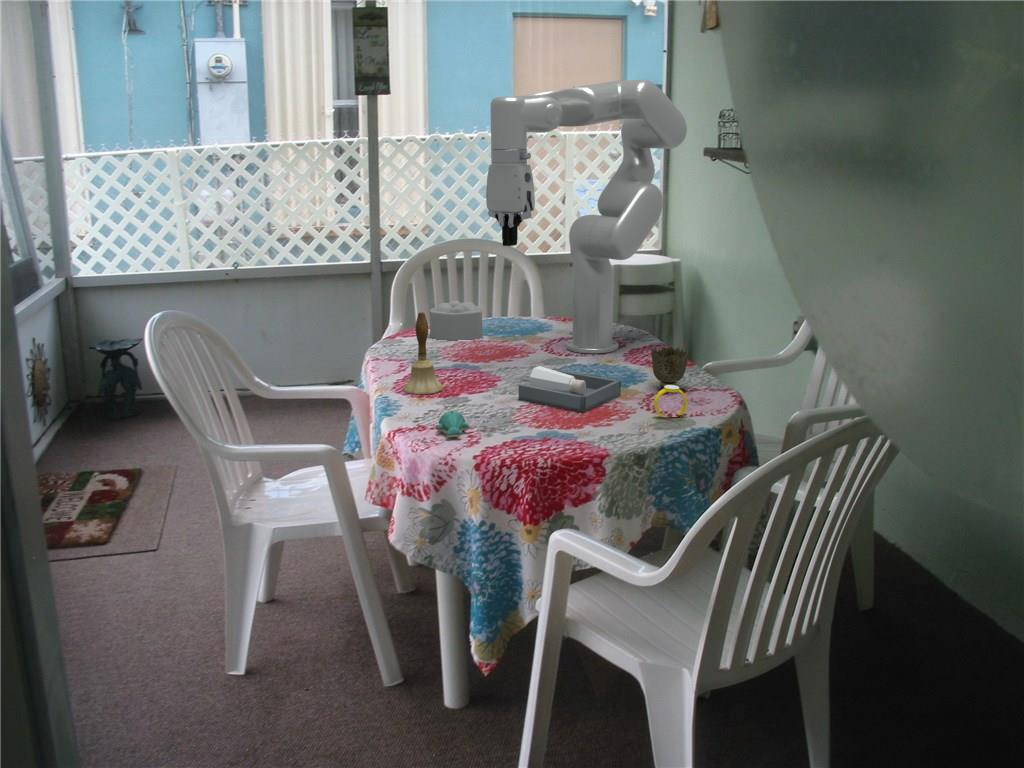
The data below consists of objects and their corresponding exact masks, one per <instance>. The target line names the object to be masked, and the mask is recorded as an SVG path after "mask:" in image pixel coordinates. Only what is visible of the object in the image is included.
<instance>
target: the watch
mask: <svg viewBox="0 0 1024 768" xmlns="http://www.w3.org/2000/svg"><path fill="white" fill-rule="evenodd" d="M667 392H668V393H679V394H681V396H682V397H683V398H682V399H683V405H682V407H681V410H679V411H678V412H677V413H676V414H678V415H682V416H683V415H684V413H685V412H686V410H687V408H688V398H687V396H686V394H685V393H684V392H683V391H682V390H681V389H680V386H678V385H677V386H675V385H666V386H664V389H662V388H661V390H660V391H658V392H657V394H656V395H655V397H654V401H653V407H654V409H655V412H656V413H657V415H658V416H659V417H661V418H662V417H663V415H664V414H662V413H661V412H660V410H659V407H658V405H659V400H660V399H661V397H662V395H664V394H665V393H667Z"/></svg>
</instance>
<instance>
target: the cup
mask: <svg viewBox="0 0 1024 768" xmlns="http://www.w3.org/2000/svg"><path fill="white" fill-rule="evenodd" d="M650 354H651V364H652V371H653V372H652V373H653V375H654V376H655V378H656V379H657V380H658V381H659V387H660V389H662V388H663V389H664V386H666V385H675V386H678V385H679V384H678V382H679V381H681V380H682V379H683V378H684V376H685V373H686V369H687V363H688V356H689V351H688V350H687V349H685V348H684V347H683V348H681V349H680V347H676V348H674V347H673V346H671V345H670V346H668V347H665V346H664V345H663V346H662V347H661V348H660V350H658V349H657V348H656V347H654V348H653V349H651V351H650Z"/></svg>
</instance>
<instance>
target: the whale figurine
mask: <svg viewBox="0 0 1024 768" xmlns="http://www.w3.org/2000/svg"><path fill="white" fill-rule="evenodd" d="M469 428H470V424H468V423H466V419H465V417H464V416H463V415H462V414H461V412H459V411H456V410H450V411H446V412H444V413H443V414H442V415H441V416H440V418H439V420H438V425H437V426H436V428H435V429H436V431H437V432H441V431H442V432H443V434H444V433H445V435H446V437H447V438H458V437H459V438H460V437H461V436H462V435H463V432H464V431H467V430H469ZM463 430H464V431H463ZM462 431H463V432H462ZM442 432H441V433H442Z"/></svg>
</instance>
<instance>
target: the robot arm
mask: <svg viewBox="0 0 1024 768" xmlns="http://www.w3.org/2000/svg"><path fill="white" fill-rule="evenodd" d="M618 120H623V122H622V124H621V127H620V129H621V130H620V134H621V142H622V151H623V154H622V155H623V157H622V161H621V163H620V165H619V167H618V168H617V170H616V171H615V172H614V174H613V175H612V177H611V178H610V180H609V181H608V182H607V184H606V185H605V187H604V189H602V192H601V193H600V195H599V197H598V200H597V204H596V205H597V210H598V212H599V214H600V215H599V214H585V215H582V216H579V217H577V219H575V220H574V221H573V222H572V224H571V226H570V228H569V233H568V240H569V247H570V253H571V259H572V339H569V340H567V341H566V342H565V348H566V349H567V350H569V351H572V352H575V353H581V354H606V353H610V352H615V351H616V350H618V349H619V342H617V341H616V340H614V339H613V336H614V335H617V334H619V333H620V328H619V327H618V326H616V325H615V326H613V316H614V315H613V311H614V309H613V308H614V306H613V305H614V270H613V267H612V264H611V261H610V260H616V261H625V260H628V259H630V258H632V256H634V255H635V254H636V253H637V251H638V250H639V249H640V247H641V246H642V245H643V243H644V242H645V240H646V238H647V236H649V234H650V233H651V231H652V229H653V228H654V227H655V226H656V224H657V222H658V220H659V218H660V217H661V214H662V210H663V205H664V197H663V194H662V191H661V190H660V188H659V187H658V186H657V185H655V184H653V183H652V182H653V181H654V177H655V173H656V170H655V163H654V160H653V155H652V150H651V149H661V150H662V149H664V150H667V149H668V150H669V149H674V148H678V147H679V146H681V145H682V144H683V143H684V142H685V140H686V136H687V133H688V126H687V122H686V120H685V117H684V115H683V113H682V112H681V111H680V109H678V106H676V105H675V103H673V101H672V100H671V99H670V97H668V96H667V94H666V93H665V92H664V91H663V90H662V89H661V88H660V87H659V86H658V85H656V84H655V83H654V82H653V81H650V80H648V79H633V80H632V79H627V80H623V79H622V80H614V81H608V82H601V83H594V84H588V85H587V84H586V85H581V86H580V85H579V86H574V87H568V88H567V87H566V88H563V89H556V90H551V91H545V92H543V91H542V92H537V93H536V92H535V93H531V94H524V95H517V96H497V97H494V98H492V99H491V101H490V153H491V154H490V157H491V158H490V159H491V161H490V163H491V164H489V165H488V171H487V177H486V187H485V189H486V190H485V191H486V192H485V193H486V194H485V195H486V196H485V199H486V201H485V203H486V208H487V210H488V212H487V216H489V217H491V218H494V219H495V220H496V221H497V222H498V225H499V227H500V228H501V239H502V246H503V247H506V246H507V247H514V246H517V244H518V239H519V237H518V227H520V226H521V223H522V222H523V221H524V220H529V219H531V218H532V217H533V215H532V212H533V211H534V210H535V207H536V205H535V203H536V197H535V183H534V175H533V171H532V170H533V169H532V168H531V167H532V166H531V164H528V160H531V158H532V155H531V152H528V145H527V144H528V137H527V136H528V133H535V134H536V133H539V134H541V133H542V134H543V133H544V134H545V133H550V132H552V131H554V130H556V129H557V128H558V127H574V128H576V127H584V126H592V125H596V124H601V123H605V122H606V123H607V122H614V121H618Z"/></svg>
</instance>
